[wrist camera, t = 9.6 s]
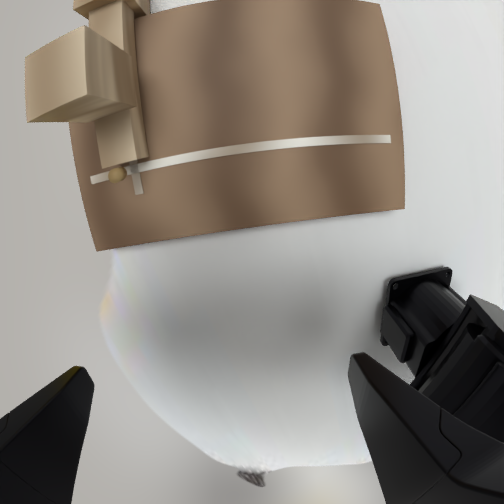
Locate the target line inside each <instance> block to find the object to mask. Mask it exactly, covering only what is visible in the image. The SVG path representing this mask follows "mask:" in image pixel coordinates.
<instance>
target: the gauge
mask: <svg viewBox="0 0 504 504" xmlns="http://www.w3.org/2000/svg"><path fill="white" fill-rule="evenodd" d="M73 10H75V11H76V12H78V13H79V14H81V15H82V16H84V17H85V18H87V19H88V20H89V28H88V27H87V26H85V25H84V26H82V27H80V28H77V29H75V30H73V31H71V32H69V33H67V34H65V35H63V36H61V37H59V38H58V39H56V40H54V41H52V42H50V43H49V44H47V45H45V46H43V47H41V48H40V49H38V50H36V51H35V52H33V53H32V54H30V55H28V56H27V57H25V99H26V116H27V123H29V122H85V123H88V122H91V121H95V129H96V136H97V142H98V149H99V155H100V160H101V166H102V169H103V168H107V167H110V166H114V165H118V164H121V163H125V162H129V161H133V160H137V159H141V158H145V157H149V154H148V148H147V142H146V135H145V129H144V122H143V115H142V107H141V99H140V91H139V82H138V72H137V61H136V49H135V33H134V19H136V18H140V17H143V16H146V15H150V2H149V0H74V6H73ZM126 177H127V171H126V169H125V168H124V167H118V168H114V169H112V170H110V171H109V174H108V179H109V181H110V182H112V183H118V182H120V181H122V180H124V179H125V178H126Z"/></svg>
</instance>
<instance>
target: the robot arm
mask: <svg viewBox="0 0 504 504" xmlns="http://www.w3.org/2000/svg"><path fill="white" fill-rule="evenodd" d="M446 273H447V274H446ZM451 277H452V270H451V269H450V268H449V267H444V268H439V269H435V270H430V271H426V272H421V273H417V274H412V275H408V276H403V277H398V278H394V279H391V280H390V281H389V283H388V289H387V298H386V305H385V307H384V310H383V317H382V324H381V338H380V342H381V343H382V345H383V346H387V345H389V346H390V347H391V349H392V350H393V352H394V354H395V355H396V357H397V358H398V360H399V361H400V362H401V363H405V362H406V364H407V365H408V367H409V368H410V370H411V372H412V373H413V375H414V376H415V379H414V380H413V381H412V383H411V384H410V385H409V384H408V383H406V382H405V381H403V380H402V379H401V378H399V377H398V376H396V375H395V374H394V373H392V372H391V371H389V370H388V369H387V368H385V367H384V366H383V365H381V364H380V363H378V362H377V361H376V360H374V359H373V358H372V357H370V356H369V355H367V354H366V353H364V352H361V353H356V354H352V355H351V358H350V364H349V370H348V379H349V383H350V387H351V391H352V396H353V400H354V405H355V409H356V414H357V418H358V421H359V424H360V427H361V429H362V432H363V435H364V438H365V441H366V444H367V447H368V450H369V452H370V455H371V458H372V461H373V464H374V467H375V470H376V473H377V476H378V479H379V483H380V486H381V489H382V492H383V495H384V498H385V501H386V504H504V311H503V310H502V309H501V308H499V307H498V306H497V305H494V304H492V303H490V302H487V301H485V300H483V299H480V298H478V297H476V296H473V295H471V294H470V295H469V297H468V299H467V301H465V300H464V299H463V298H462V297H461V296H460V295H458V294H457V293H456V292H455V291H454V290H453V289H452V288H451V287H450V282H451ZM394 284H396V285H395V286H394V287H393V285H394ZM93 393H94V383H93V381H92V379H91V377H90V376H89V374H88V372H87V370H86V369H85V368H84V367H81V366H74V367H72V368H70V369H69V370H68V371H66V372H65V373H63V374H62V375H61V376H59V377H58V378H56V379H55V380H54V381H52V382H51V383H50V384H48V385H47V386H45V387H44V388H42V389H41V390H40V391H38V392H37V393H35V394H34V395H33V396H31V397H30V398H28V399H27V400H26V401H24V402H23V403H22V404H20V405H19V406H17V407H16V408H15V409H13V410H12V411H10V413H8V414H6V415H5V416H4V417H2V418H1V419H0V504H71V501H72V495H73V489H74V484H75V479H76V474H77V469H78V464H79V459H80V455H81V450H82V446H83V442H84V438H85V434H86V430H87V426H88V421H89V416H90V410H91V404H92V398H93Z"/></svg>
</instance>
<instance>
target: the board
mask: <svg viewBox="0 0 504 504" xmlns="http://www.w3.org/2000/svg"><path fill="white" fill-rule="evenodd" d="M134 33H135V49H136V61H137V72H138V82H139V91H140V99H141V107H142V115H143V122H144V129H145V135H146V142H147V148H148V154H149V157H145V158H141V159H137V160H133V161H129V162H125V163H121V164H118V165H114V166H110V167H107V168H103V169H102V166H101V160H100V155H99V149H98V142H97V136H96V129H95V121H91V122H88V123H85V122H69V128H70V135H71V143H72V149H73V155H74V161H75V166H76V172H77V177H78V182H79V186H80V191H81V195H82V200H83V204H84V208H85V212H86V216H87V219H88V223H89V227H90V231H91V234H92V238H93V241H94V244H95V248H96V251H102V250H108V249H114V248H120V247H126V246H132V245H138V244H144V243H150V242H156V241H163V240H169V239H175V238H182V237H188V236H195V235H201V234H208V233H215V232H222V231H229V230H236V229H243V228H250V227H257V226H265V225H272V224H280V223H287V222H295V221H303V220H311V219H319V218H327V217H335V216H344V215H352V214H361V213H370V212H379V211H389V210H398V209H405V168H404V145H403V131H402V120H401V110H400V101H399V94H398V87H397V80H396V74H395V68H394V63H393V57H392V52H391V47H390V43H389V38H388V34H387V30H386V26H385V22H384V18H383V15H382V11H381V7H380V4H376V3H371V2H365V1H358V0H215V1H208V2H202V3H197V4H191V5H186V6H182V7H177V8H173V9H169V10H164V11H161V12H157V13H153V14H150V15H146V16H143V17H140V18H136V19H134ZM118 167H124V168H125V169H126V171H127V177H126V178H125V179H124V180H122V181H120V182H118V183H112V182H110V181H109V179H108V174H109V171H110V170H112V169H114V168H118Z"/></svg>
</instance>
